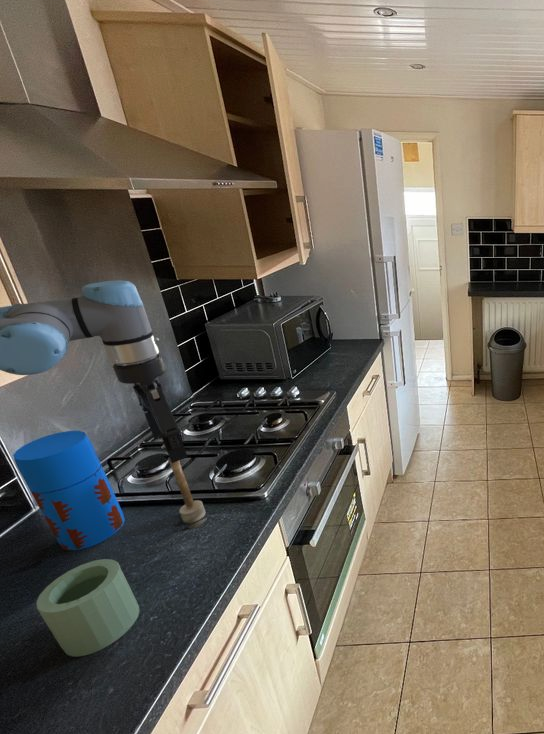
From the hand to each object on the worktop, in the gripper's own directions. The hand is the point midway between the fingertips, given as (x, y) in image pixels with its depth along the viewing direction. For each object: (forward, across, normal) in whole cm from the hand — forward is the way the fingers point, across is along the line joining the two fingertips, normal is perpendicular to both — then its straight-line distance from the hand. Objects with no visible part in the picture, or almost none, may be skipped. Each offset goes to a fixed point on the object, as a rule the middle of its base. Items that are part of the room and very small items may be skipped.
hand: (170, 447), depth 91 cm
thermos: (+21, +12, +16) cm, 29 cm away
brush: (+21, 0, 0) cm, 21 cm away
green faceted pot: (+21, -17, +19) cm, 33 cm away
